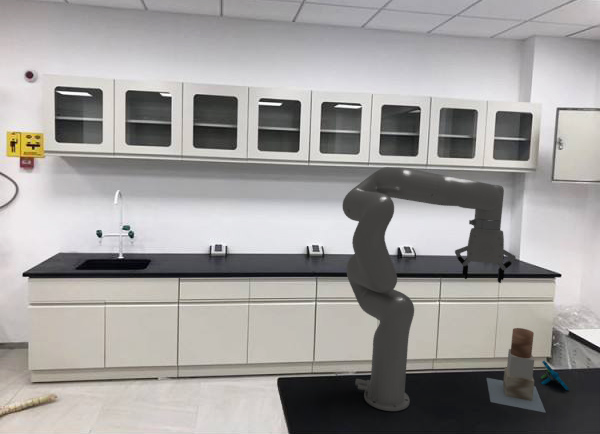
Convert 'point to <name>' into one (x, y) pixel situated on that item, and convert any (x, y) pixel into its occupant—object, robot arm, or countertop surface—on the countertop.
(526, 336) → the cylinder
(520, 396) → the lower block
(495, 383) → the mat
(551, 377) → the blue angular piece
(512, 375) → the upper block
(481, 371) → the countertop surface
